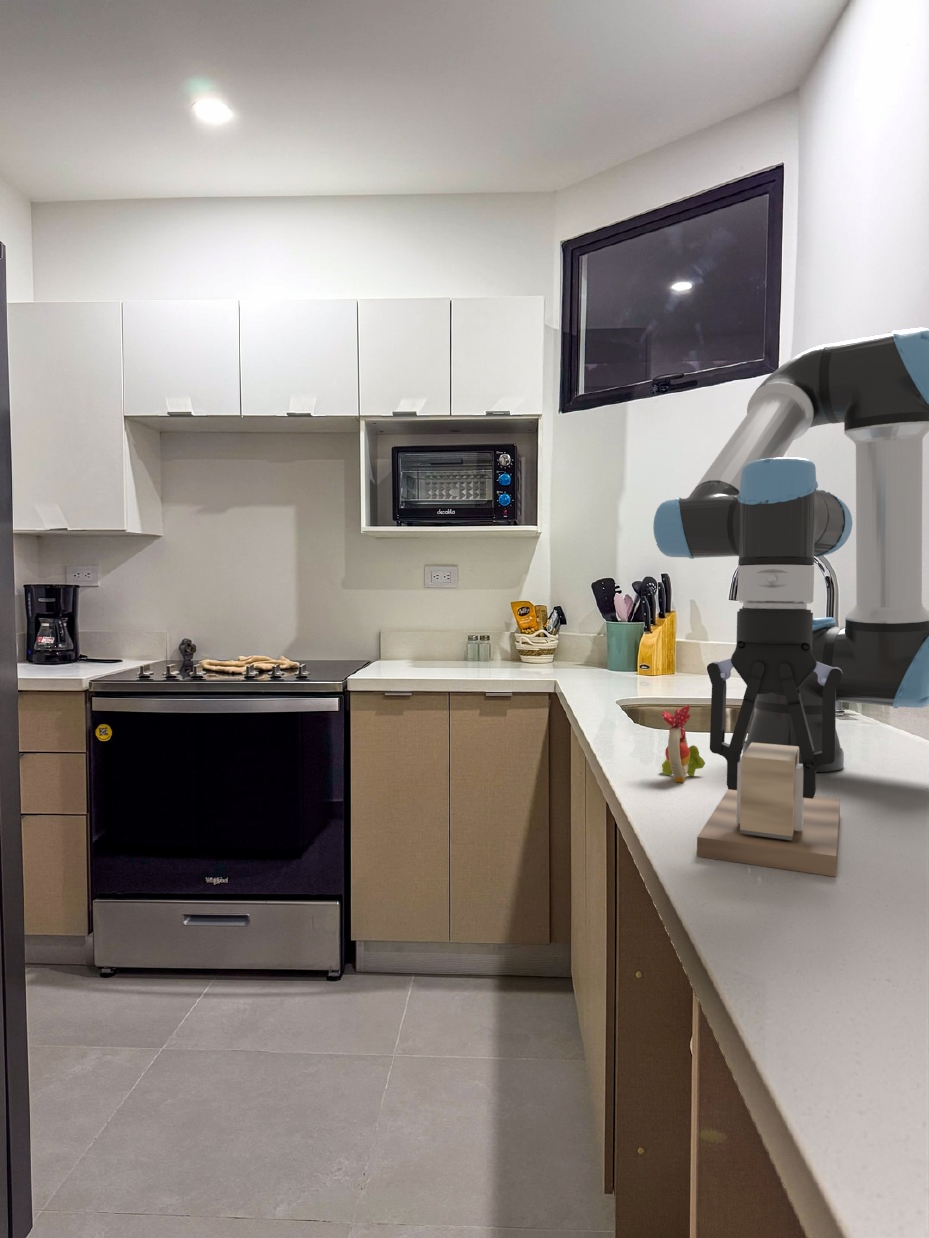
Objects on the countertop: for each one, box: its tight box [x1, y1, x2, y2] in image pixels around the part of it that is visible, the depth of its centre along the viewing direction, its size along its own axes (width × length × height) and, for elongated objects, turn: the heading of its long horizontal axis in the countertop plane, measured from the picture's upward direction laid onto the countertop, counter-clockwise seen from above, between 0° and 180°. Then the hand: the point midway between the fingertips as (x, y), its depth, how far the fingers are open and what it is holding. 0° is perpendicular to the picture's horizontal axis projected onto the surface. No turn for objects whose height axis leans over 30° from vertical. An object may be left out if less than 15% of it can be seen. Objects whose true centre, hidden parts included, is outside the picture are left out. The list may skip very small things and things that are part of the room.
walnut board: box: [696, 788, 841, 878], centre depth 90 cm, size 24×13×2 cm, turn 154°
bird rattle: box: [660, 704, 706, 784], centre depth 117 cm, size 6×11×9 cm
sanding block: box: [740, 742, 799, 840], centre depth 86 cm, size 9×5×8 cm, turn 154°
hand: (769, 823), depth 86 cm, fingers closed on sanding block, 5 cm apart
